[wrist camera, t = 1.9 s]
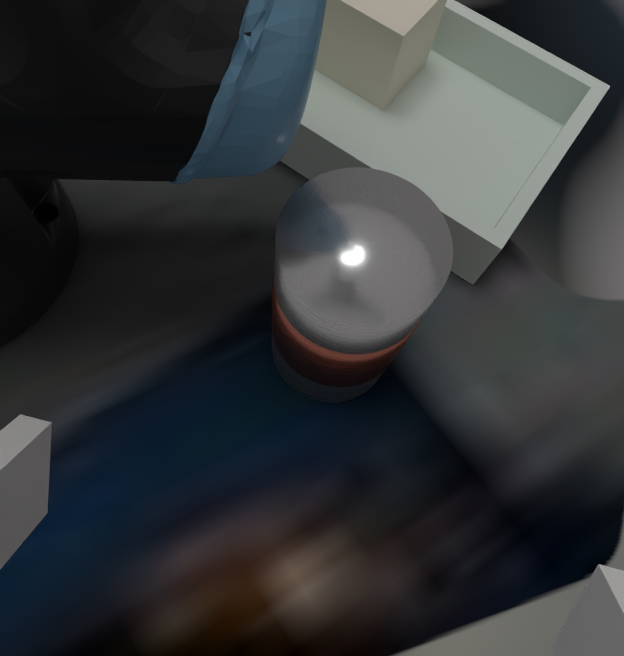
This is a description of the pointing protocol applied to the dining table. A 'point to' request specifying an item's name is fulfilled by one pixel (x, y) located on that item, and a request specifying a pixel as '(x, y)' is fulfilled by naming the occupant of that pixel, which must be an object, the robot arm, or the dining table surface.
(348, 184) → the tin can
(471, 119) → the tote
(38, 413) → the dining table surface
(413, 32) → the beige rectangular block
